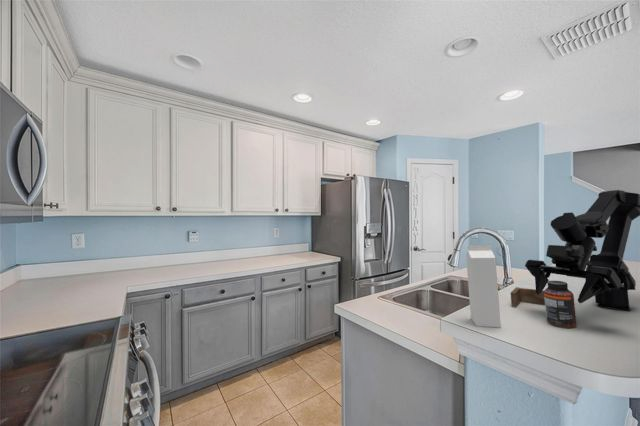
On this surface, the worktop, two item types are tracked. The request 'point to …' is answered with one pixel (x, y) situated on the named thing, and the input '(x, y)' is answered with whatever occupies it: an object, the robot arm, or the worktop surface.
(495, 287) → the milk
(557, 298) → the supplement bottle
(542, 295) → the u-shaped wooden frame
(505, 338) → the worktop surface
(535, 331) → the worktop surface
